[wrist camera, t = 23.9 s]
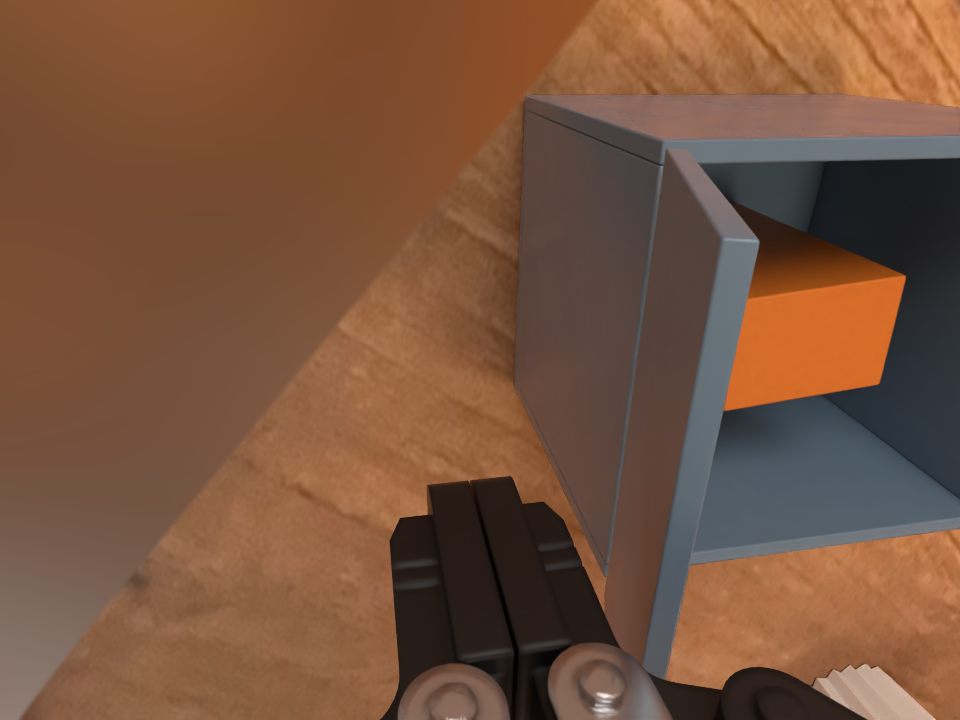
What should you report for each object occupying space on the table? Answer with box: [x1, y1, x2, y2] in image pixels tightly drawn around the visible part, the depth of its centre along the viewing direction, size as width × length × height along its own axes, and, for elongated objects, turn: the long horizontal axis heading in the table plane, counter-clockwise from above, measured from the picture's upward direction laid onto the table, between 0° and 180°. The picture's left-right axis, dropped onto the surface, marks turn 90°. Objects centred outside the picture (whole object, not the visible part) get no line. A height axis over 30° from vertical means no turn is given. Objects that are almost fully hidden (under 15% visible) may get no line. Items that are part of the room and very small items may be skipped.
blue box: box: [514, 94, 960, 577], centre depth 22 cm, size 13×12×12 cm
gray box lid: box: [605, 148, 760, 680], centre depth 12 cm, size 6×12×1 cm
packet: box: [723, 203, 906, 411], centre depth 22 cm, size 5×4×9 cm
